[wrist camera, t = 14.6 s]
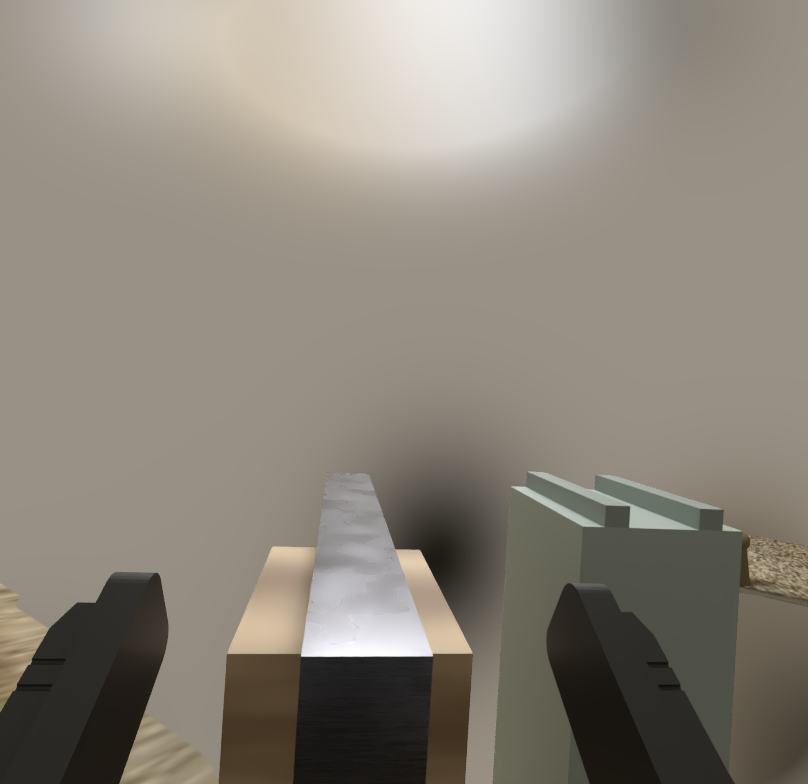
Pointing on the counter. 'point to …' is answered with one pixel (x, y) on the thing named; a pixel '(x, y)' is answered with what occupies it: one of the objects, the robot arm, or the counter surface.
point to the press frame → (633, 591)
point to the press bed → (280, 672)
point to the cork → (744, 562)
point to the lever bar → (361, 652)
